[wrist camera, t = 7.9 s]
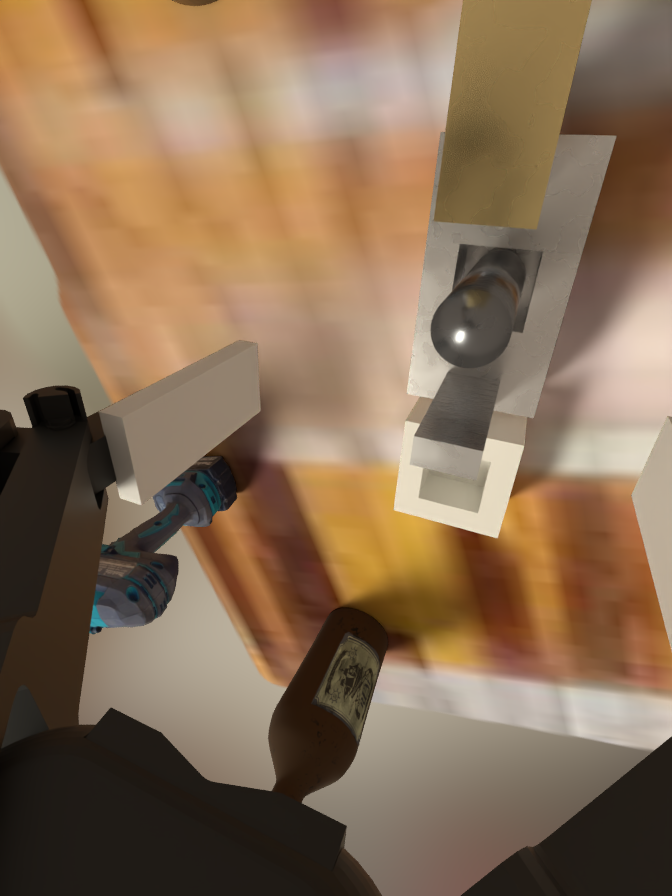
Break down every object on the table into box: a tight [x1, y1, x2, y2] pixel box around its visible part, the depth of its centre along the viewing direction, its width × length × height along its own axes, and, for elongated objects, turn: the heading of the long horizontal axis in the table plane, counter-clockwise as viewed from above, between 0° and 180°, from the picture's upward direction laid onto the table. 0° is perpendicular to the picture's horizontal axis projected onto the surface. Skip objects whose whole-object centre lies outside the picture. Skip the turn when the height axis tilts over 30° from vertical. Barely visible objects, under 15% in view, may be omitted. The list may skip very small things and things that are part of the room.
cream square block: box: [394, 396, 527, 538], centre depth 44 cm, size 10×10×6 cm
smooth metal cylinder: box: [430, 250, 526, 368], centre depth 30 cm, size 4×4×16 cm
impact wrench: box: [89, 456, 237, 634], centre depth 53 cm, size 8×23×25 cm, turn 105°
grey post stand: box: [407, 130, 616, 480], centre depth 31 cm, size 18×10×18 cm, turn 177°
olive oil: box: [268, 608, 388, 803], centre depth 56 cm, size 11×11×25 cm
